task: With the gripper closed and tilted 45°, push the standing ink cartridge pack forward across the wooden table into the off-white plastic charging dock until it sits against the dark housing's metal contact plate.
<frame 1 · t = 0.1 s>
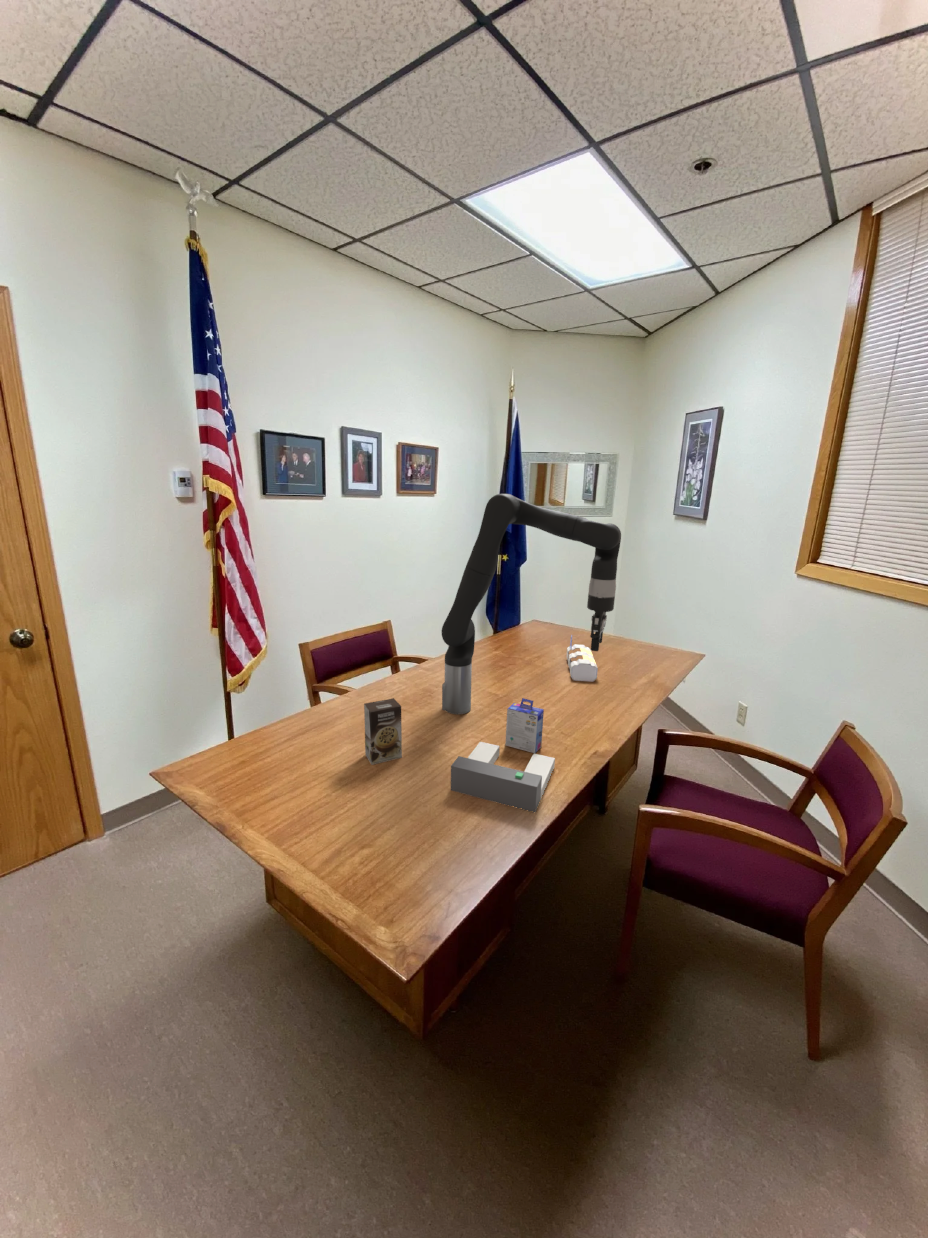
hand: (596, 646, 144), 29 cm above the table, tool pointing down, fingers open, 8 cm apart
charging dock: (507, 773, 130), on the table
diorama: (580, 671, 207), on the table
dessert mix box: (383, 757, 137), on the table
ink cartridge box: (523, 746, 144), on the table
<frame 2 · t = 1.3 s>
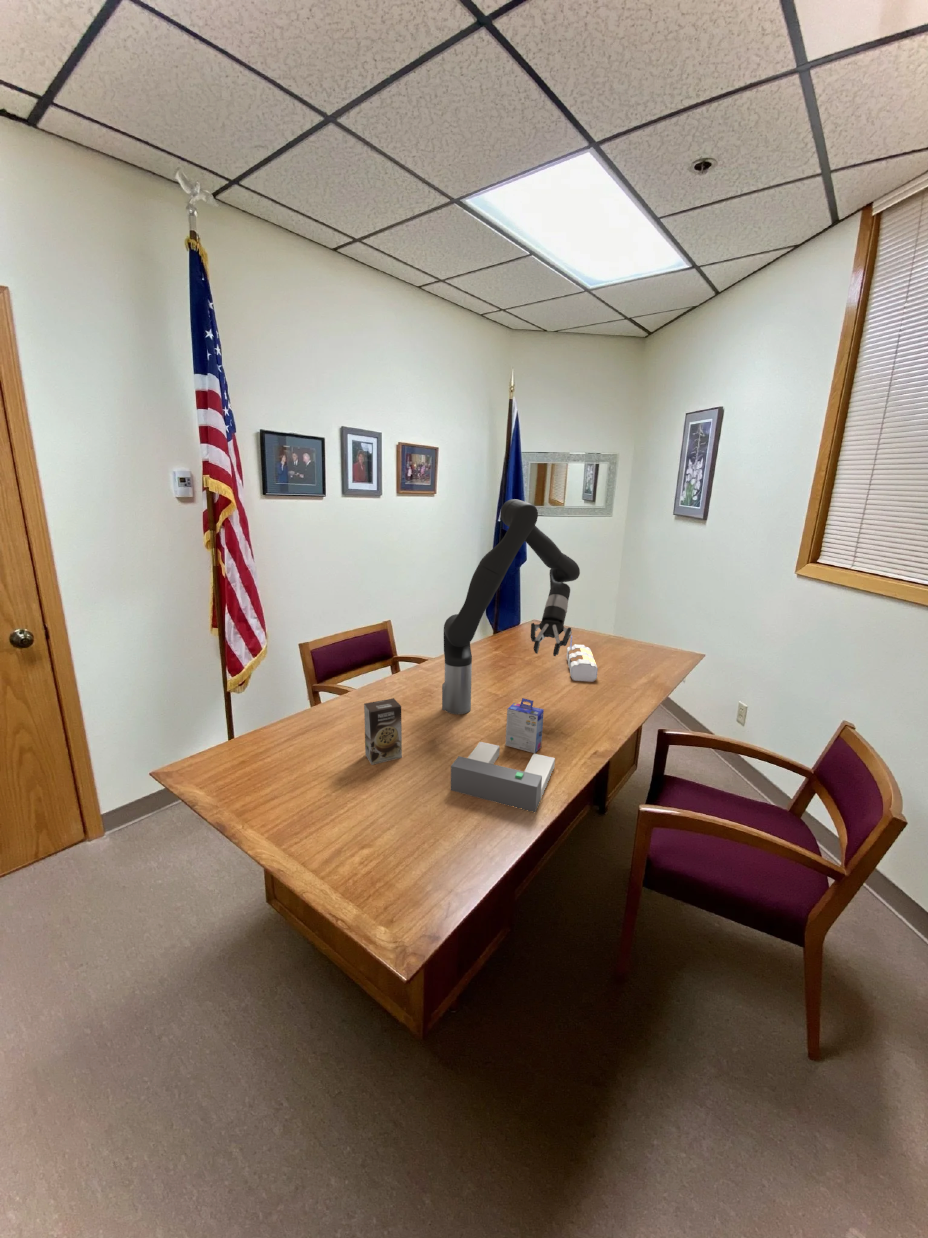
hand: (545, 653, 158), 22 cm above the table, tool tilted 45°, fingers open, 5 cm apart
nothing on the table moved.
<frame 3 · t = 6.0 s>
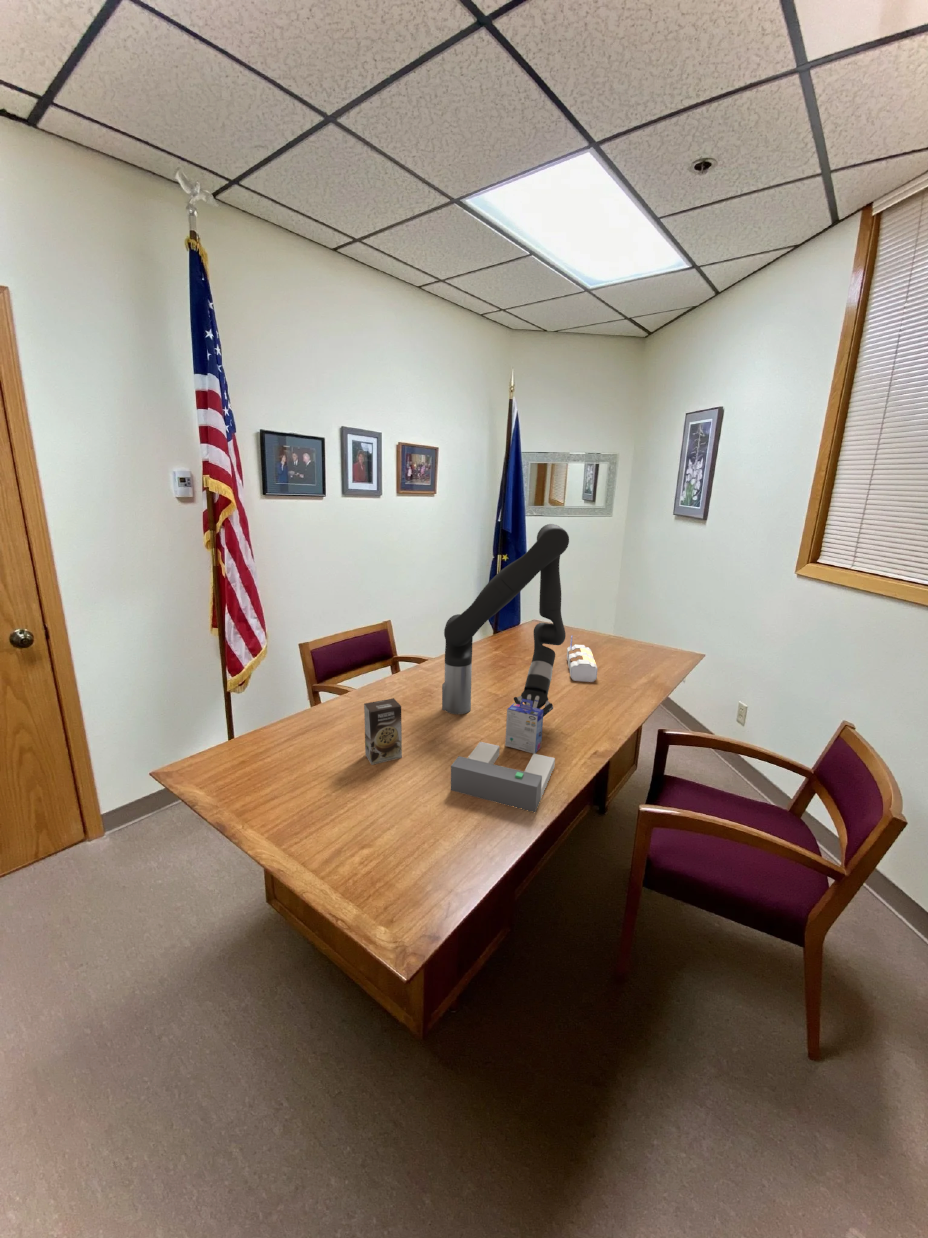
hand: (527, 730, 146), 4 cm above the table, tool tilted 45°, fingers closed
ink cartridge box: (523, 747, 144), on the table, touching gripper
everything else where it was.
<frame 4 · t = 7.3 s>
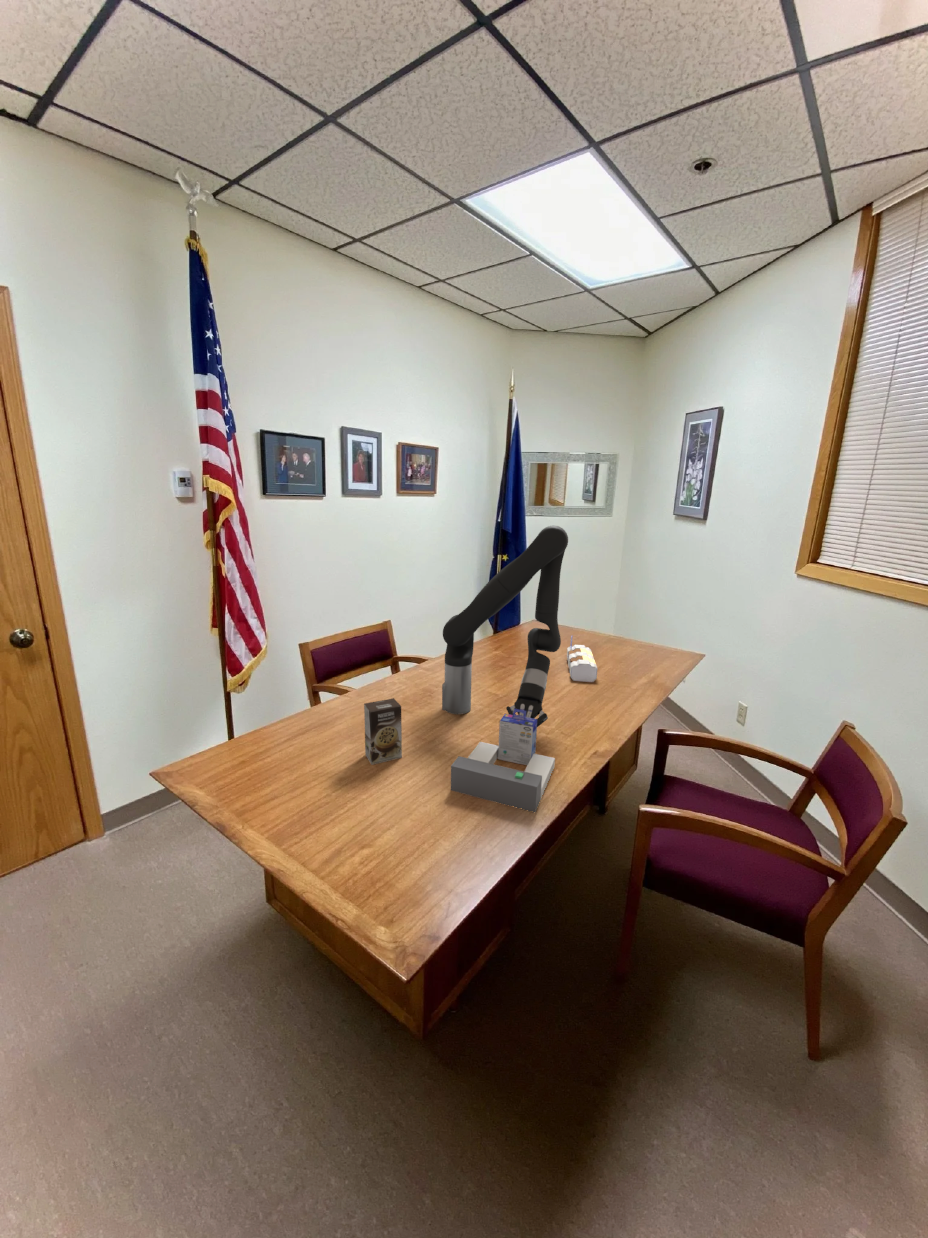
hand: (520, 741, 139), 4 cm above the table, tool tilted 45°, fingers closed
ink cartridge box: (516, 759, 137), on the table, touching gripper
everything else where it was.
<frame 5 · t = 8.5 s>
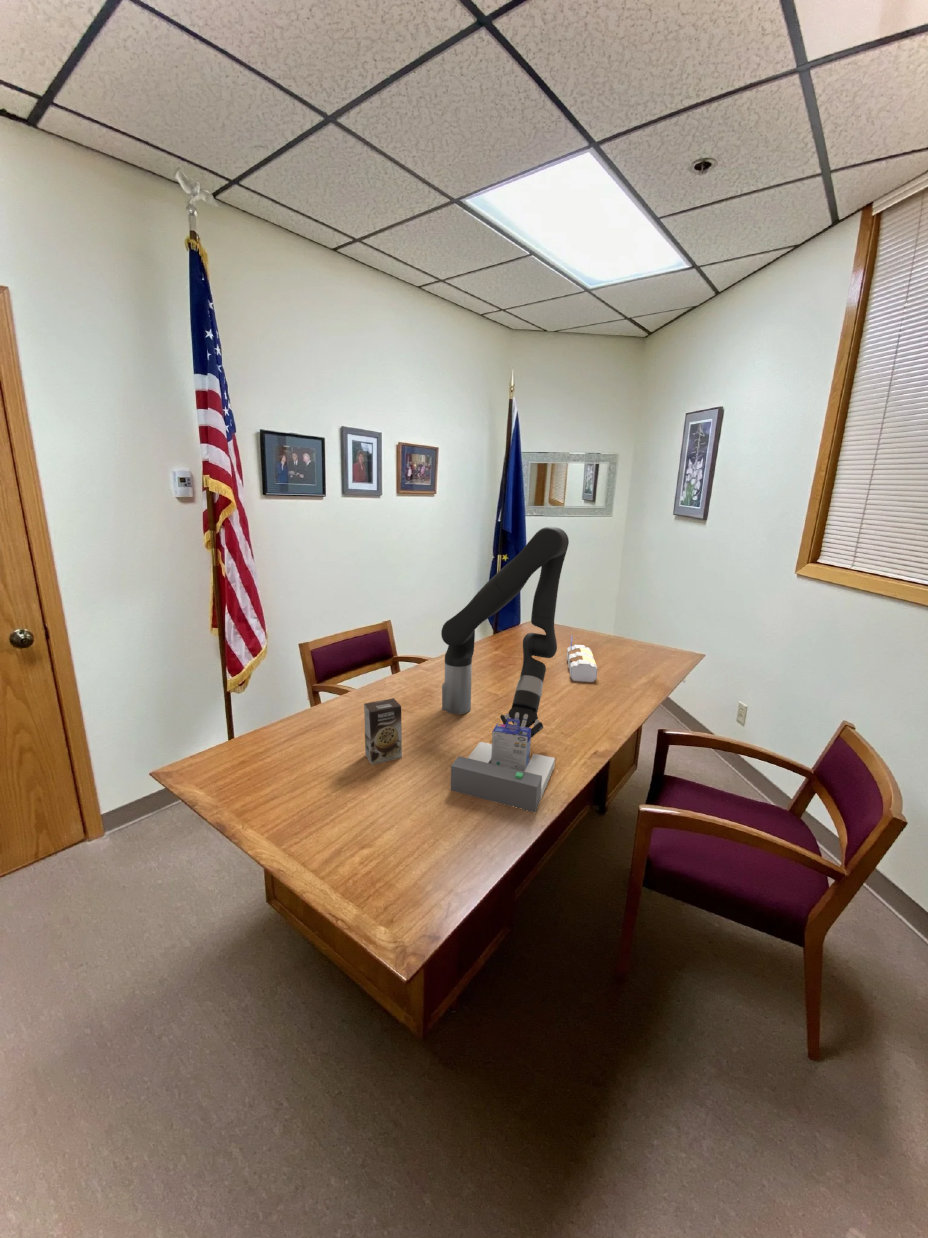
hand: (514, 751, 134), 4 cm above the table, tool tilted 45°, fingers closed
ink cartridge box: (510, 770, 132), on the table, touching gripper
everything else where it was.
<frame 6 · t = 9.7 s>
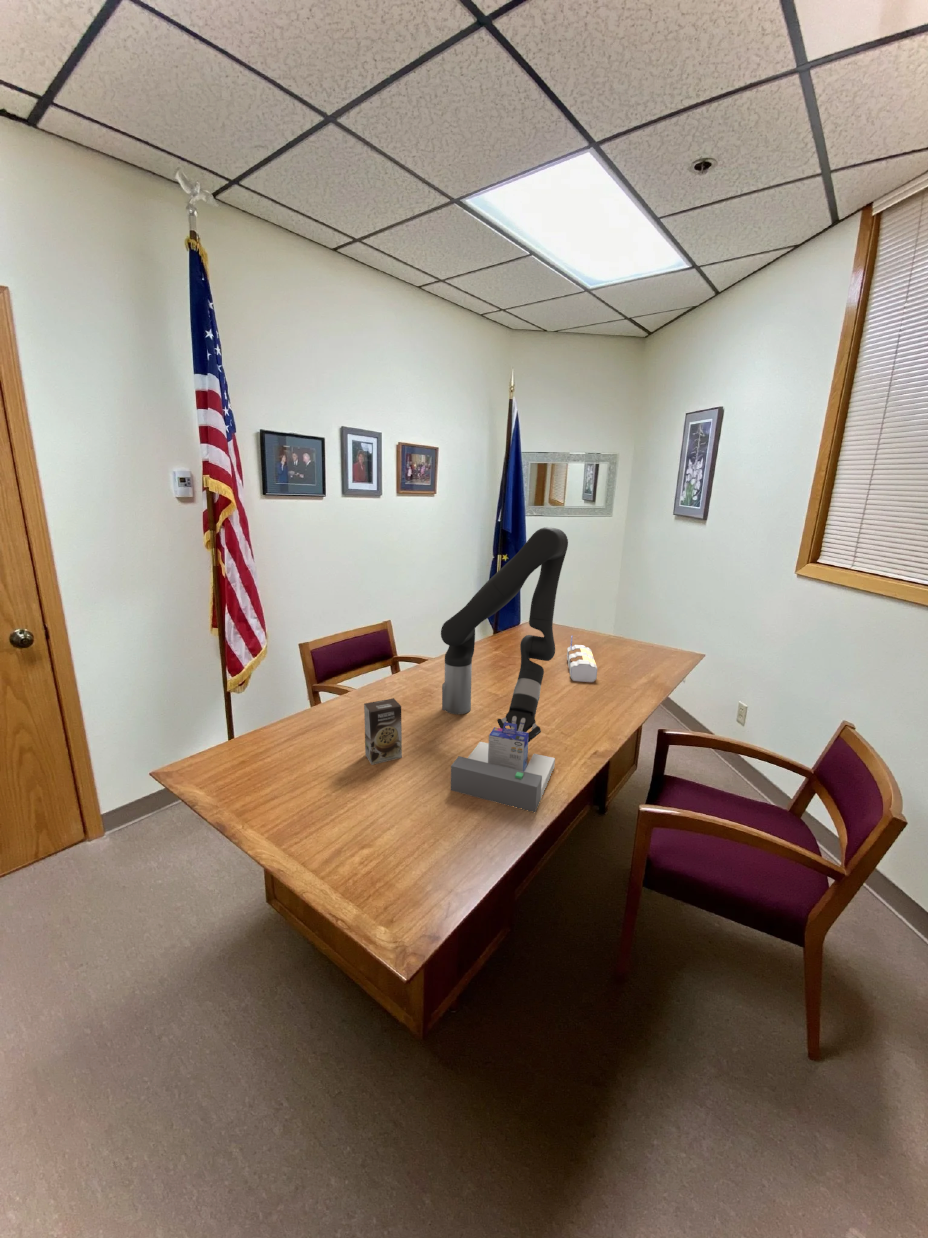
hand: (511, 756, 131), 4 cm above the table, tool tilted 45°, fingers closed
ink cartridge box: (507, 775, 130), on the table, touching gripper
everything else where it was.
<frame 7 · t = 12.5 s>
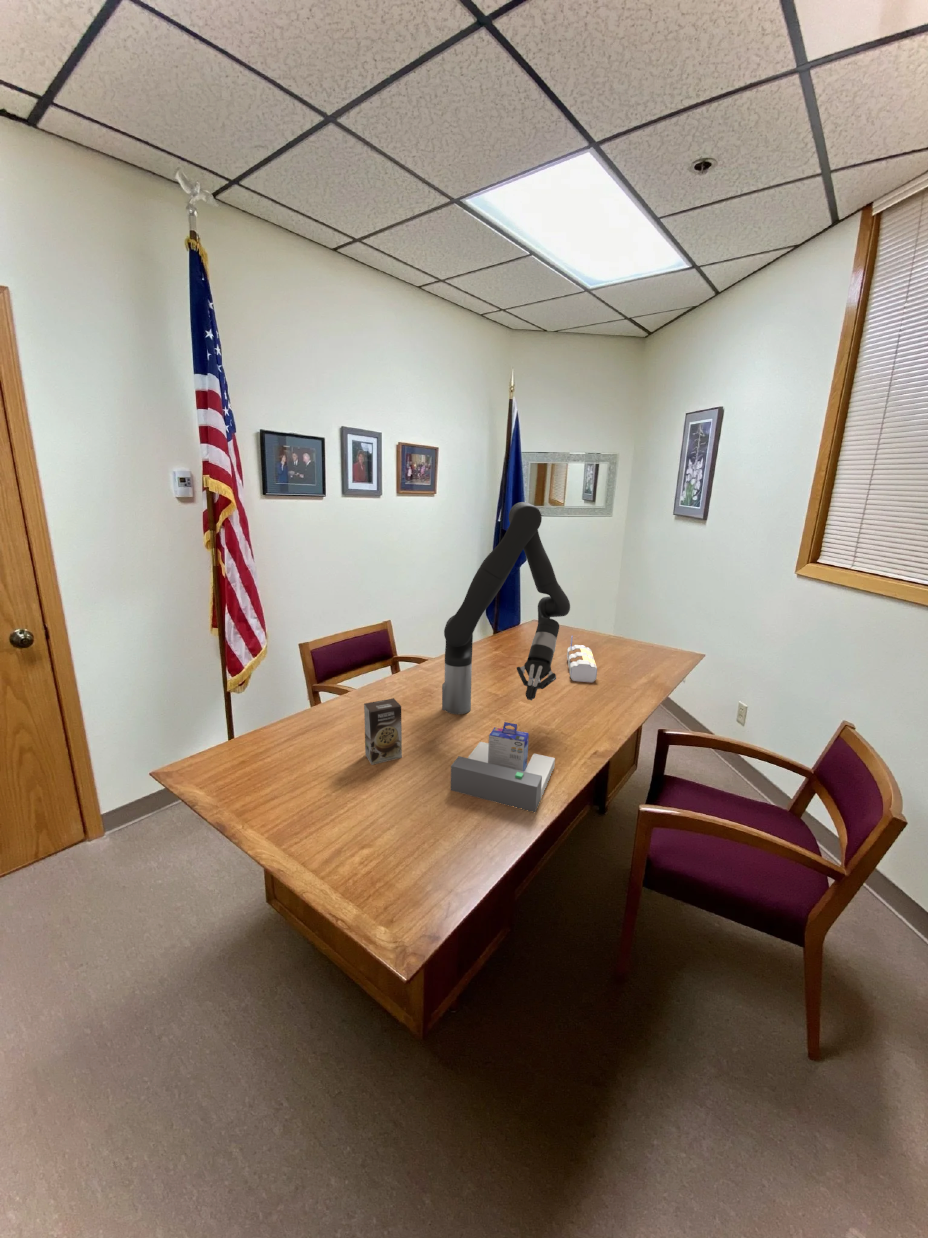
hand: (529, 699, 146), 13 cm above the table, tool tilted 45°, fingers closed
ink cartridge box: (507, 775, 130), on the table
everything else where it was.
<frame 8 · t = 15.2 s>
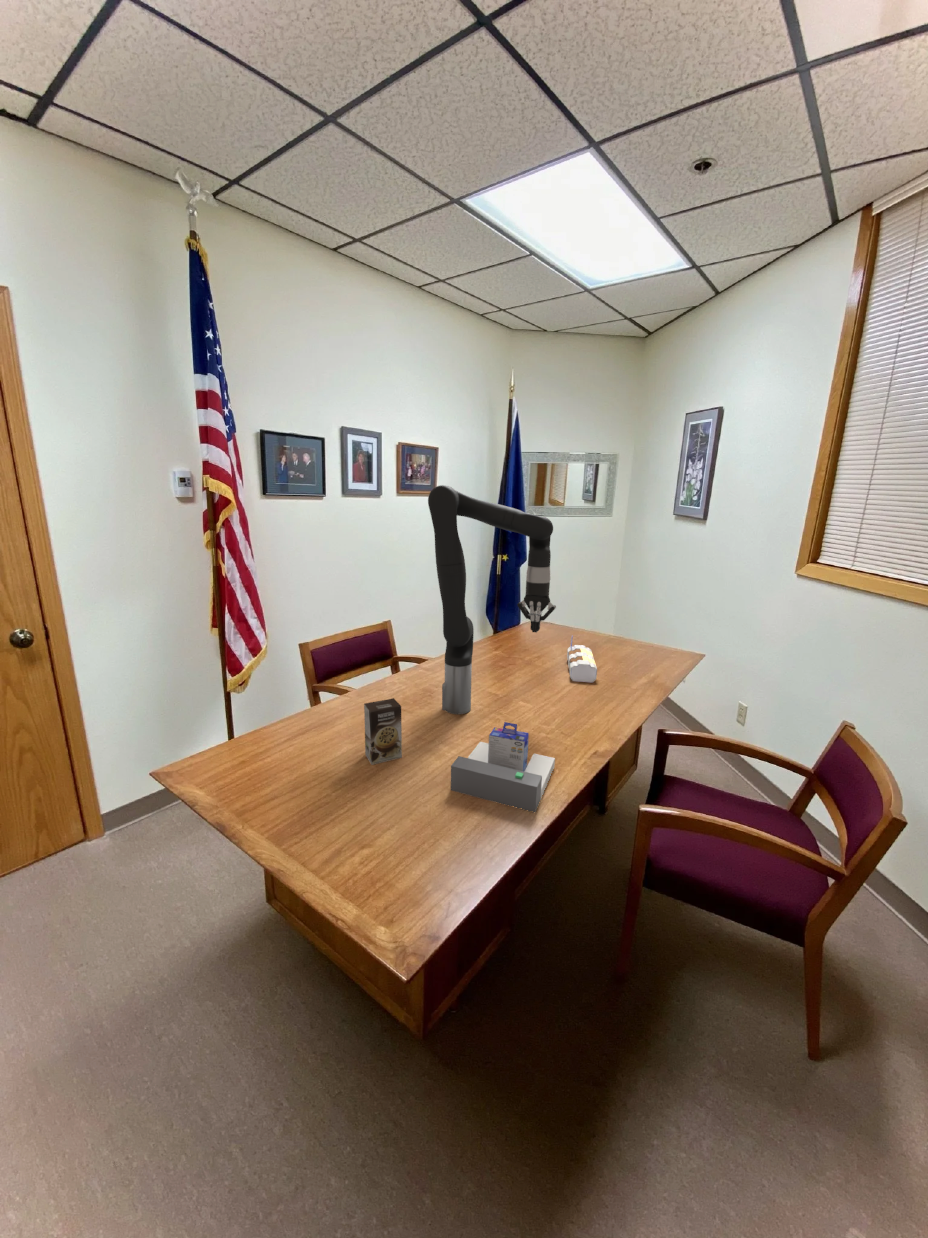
hand: (535, 631, 159), 29 cm above the table, tool pointing down, fingers closed
nothing on the table moved.
at the end: ink cartridge box 1.9 cm from the target spot on the charging dock, point 0.0 cm above the charging dock's base; ink cartridge box tilted 0°; ink cartridge box moved 16.4 cm from its start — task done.
